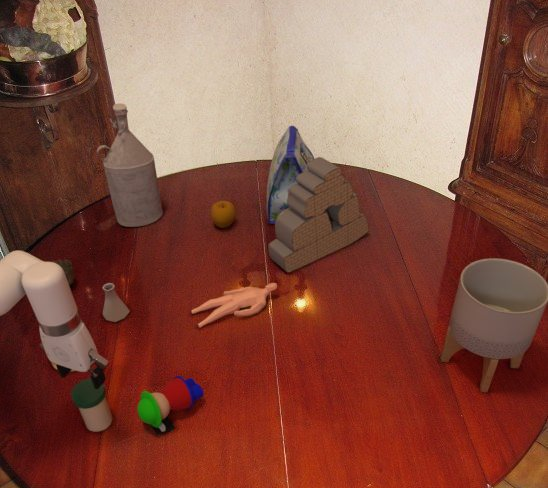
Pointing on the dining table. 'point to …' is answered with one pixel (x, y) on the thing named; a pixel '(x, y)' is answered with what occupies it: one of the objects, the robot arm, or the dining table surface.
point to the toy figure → (168, 403)
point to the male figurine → (236, 303)
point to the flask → (113, 305)
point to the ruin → (317, 217)
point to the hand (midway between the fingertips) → (83, 378)
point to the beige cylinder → (97, 416)
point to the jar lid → (87, 394)
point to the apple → (223, 213)
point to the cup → (67, 270)
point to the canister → (131, 176)
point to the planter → (495, 313)
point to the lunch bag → (285, 171)
